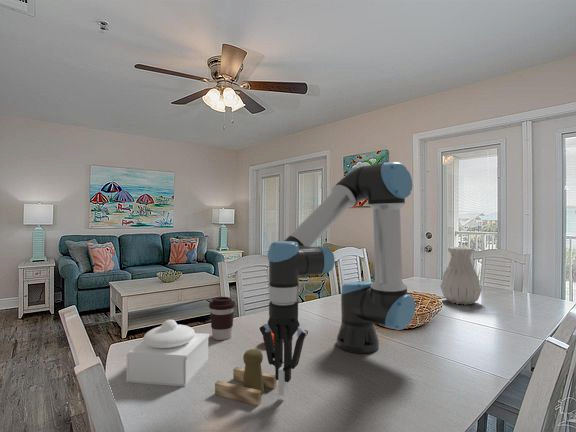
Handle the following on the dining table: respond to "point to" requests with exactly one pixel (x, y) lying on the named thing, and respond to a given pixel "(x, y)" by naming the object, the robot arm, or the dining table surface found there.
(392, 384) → the dining table surface
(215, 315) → the coffee cup
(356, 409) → the dining table surface
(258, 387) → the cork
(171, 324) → the butter dish
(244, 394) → the pair of wooden strips
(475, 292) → the vase
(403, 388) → the dining table surface
